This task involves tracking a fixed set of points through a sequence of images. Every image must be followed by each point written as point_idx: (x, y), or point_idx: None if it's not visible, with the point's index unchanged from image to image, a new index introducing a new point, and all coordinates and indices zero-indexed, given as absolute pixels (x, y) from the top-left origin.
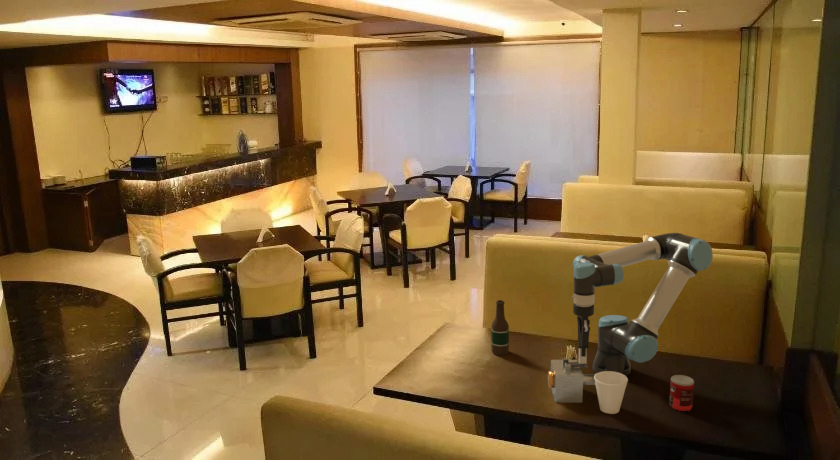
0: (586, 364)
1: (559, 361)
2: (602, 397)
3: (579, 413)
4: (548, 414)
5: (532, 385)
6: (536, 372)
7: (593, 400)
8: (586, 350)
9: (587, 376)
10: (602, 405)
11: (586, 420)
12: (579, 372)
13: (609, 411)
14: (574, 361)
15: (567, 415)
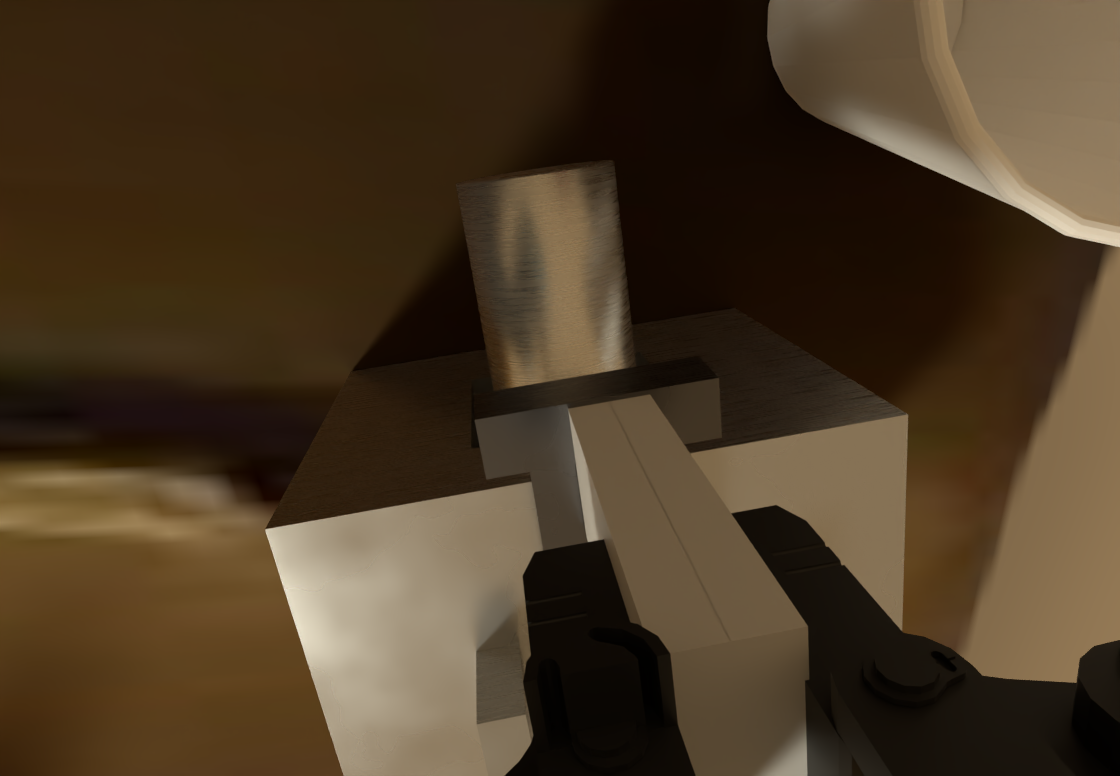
0: (696, 395)
1: (411, 765)
2: (1099, 104)
3: (946, 334)
4: (954, 576)
5: None
6: (133, 745)
7: (675, 189)
8: (761, 568)
9: (602, 304)
10: (982, 104)
11: (1073, 273)
12: (802, 471)
13: (984, 26)
14: (356, 562)
15: (977, 434)
